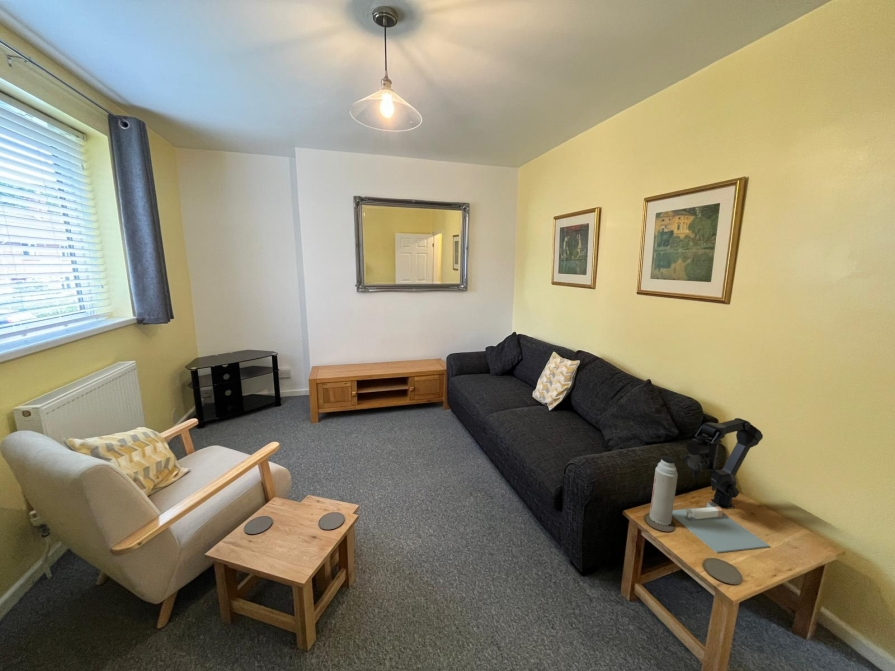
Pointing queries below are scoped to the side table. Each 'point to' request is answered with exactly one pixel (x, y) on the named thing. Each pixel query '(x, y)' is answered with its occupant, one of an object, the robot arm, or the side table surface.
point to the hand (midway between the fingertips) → (703, 484)
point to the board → (720, 532)
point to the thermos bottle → (664, 491)
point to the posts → (690, 513)
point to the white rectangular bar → (707, 512)
